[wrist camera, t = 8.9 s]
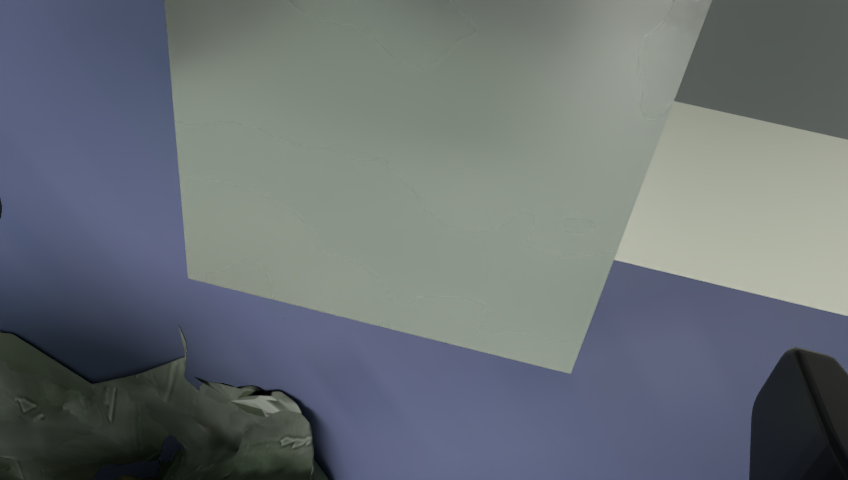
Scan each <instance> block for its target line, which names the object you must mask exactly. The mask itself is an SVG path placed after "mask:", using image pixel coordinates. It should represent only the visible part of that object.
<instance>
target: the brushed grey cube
mask: <svg viewBox="0 0 848 480" xmlns="http://www.w3.org/2000/svg"><path fill="white" fill-rule="evenodd" d="M711 2H712V0H164V3H165V14H166V26H167V38H168V49H169V61H170V73H171V84H172V96H173V108H174V119H175V131H176V143H177V154H178V166H179V178H180V189H181V201H182V213H183V225H184V236H185V248H186V260H187V271H188V278H189V279H193V280H197V281H201V282H205V283H209V284H213V285H217V286H221V287H225V288H229V289H233V290H237V291H241V292H245V293H249V294H253V295H257V296H261V297H265V298H269V299H273V300H277V301H281V302H285V303H289V304H293V305H297V306H301V307H305V308H309V309H313V310H317V311H321V312H325V313H329V314H333V315H337V316H341V317H345V318H349V319H353V320H357V321H361V322H365V323H369V324H373V325H377V326H381V327H385V328H389V329H393V330H397V331H401V332H405V333H409V334H413V335H417V336H421V337H425V338H429V339H433V340H437V341H441V342H445V343H449V344H453V345H457V346H461V347H465V348H469V349H473V350H477V351H481V352H485V353H489V354H493V355H497V356H501V357H505V358H509V359H513V360H517V361H521V362H525V363H529V364H533V365H537V366H541V367H545V368H549V369H553V370H557V371H561V372H565V373H569V374H571V372H572V369H573V367H574V364H575V361H576V359H577V356H578V353H579V351H580V348H581V345H582V343H583V340H584V337H585V335H586V332H587V329H588V327H589V324H590V322H591V319H592V316H593V314H594V311H595V308H596V306H597V303H598V300H599V298H600V295H601V292H602V290H603V287H604V285H605V282H606V279H607V277H608V274H609V271H610V269H611V266H612V263H613V261H614V258H615V255H616V253H617V250H618V248H619V245H620V242H621V240H622V237H623V234H624V232H625V229H626V226H627V224H628V221H629V218H630V216H631V213H632V210H633V208H634V205H635V203H636V200H637V197H638V195H639V192H640V189H641V187H642V184H643V181H644V179H645V176H646V173H647V171H648V168H649V166H650V163H651V160H652V158H653V155H654V152H655V150H656V147H657V144H658V142H659V139H660V136H661V134H662V131H663V128H664V126H665V123H666V121H667V118H668V115H669V113H670V110H671V107H672V105H673V102H674V99H675V97H676V94H677V91H678V89H679V86H680V84H681V81H682V78H683V76H684V73H685V70H686V68H687V65H688V62H689V60H690V57H691V54H692V52H693V49H694V46H695V44H696V41H697V39H698V36H699V33H700V31H701V28H702V25H703V23H704V20H705V17H706V15H707V12H708V9H709V7H710V4H711Z"/></svg>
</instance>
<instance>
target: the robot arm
mask: <svg viewBox="0 0 848 480" xmlns="http://www.w3.org/2000/svg"><path fill="white" fill-rule="evenodd" d="M1 213H2V204H1V199H0V218H1ZM749 480H848V373H847V372H846V371H845V370H844V369H843V368H842V366H841V365H840V364H839V363H838V362H837V361H836V360H835V359H834V358H833V357H831V356H829V355H826V354H822V353H818V352H814V351H810V350H806V349H802V348H791V349H789V350H787V351H786V352H785V353H784V354H783V356H782V357H781V359H780V360H779V362H778V363H777V365H776V366H775V368H774V370H773V371H772V373H771V374H770V376H769V378H768V379H767V381H766V382H765V384H764V385H763V387H762V389H761V390H760V392H759V393H758V395H757V397H756V400H755V402H754V406H753V410H752V418H751V444H750V472H749Z"/></svg>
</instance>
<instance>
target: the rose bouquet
mask: <svg viewBox="0 0 848 480" xmlns="http://www.w3.org/2000/svg"><path fill="white" fill-rule="evenodd" d="M283 319H284V318H283ZM179 329H180V327H179ZM180 333H181V338H182V343H183V348H184V353H185V357H183V358H180V359H178V360H175V361H172V362H170V363H167V364H164V365H162V366H159V367H156V368H154V369H151V370H148V371H146V372H143V373H140V374H137V375H132V376H128V377H123V378H119V379H114V380H110V381H105V382H101V383H96V384H91V383H89V382H88V381H86V380H84V379H83V378H81V377H80V376H78V375H77V374H75V373H73V372H72V371H70V370H69V369H67V368H66V367H64V366H62V365H61V364H59V363H58V362H56V361H54V360H53V359H51V358H50V357H48V356H47V355H45V354H43V353H42V352H40V351H39V350H37V349H36V348H34V347H32V346H31V345H29V344H28V343H26V342H24V341H23V340H21V339H20V338H18V337H17V336H15V335H13V334H10V333H2V332H0V480H93V479H94V477H95V475H96V473H97V471H98V470H100V468H102V467H103V466H106V465H110V464H116V465H117V464H131V463H136V462H142V461H154V460H159V458H160V455H161V454H160V453H161V452H163V451H162V450H161V449H162V445H163V442H164V439H165V438H167V437H168V436H169V435H173V436H174V437H175V438H176V439H177V440H178V442H179V443H180V444H181V445H183V446H184V449H185V450H179V451H177V452H176V453H174V455H173V460H171V461H167V462H165V461H159V464H160V468H159V471H158V473H157V474H156V475H155V476H154V477H148V478H138V477H136V476H130V475H121V477H117V478H116V479H115V480H329V479H328V478H327V476H326V475H325V473H324V472H323V470H322V469H321V468H320V467H319V465H318V464H317V463H316V461H315V460H314V445H313V437H312V429H311V426H310V423H309V422H308V420H307V419H306V418H305V417H304V416H303V415H302V411H301V409H300V407H299V406H298V405H297V404H296V403H295V402H294V401H293V400H291V399H290V398H289V397H288V396H286V395H285V394H283V393H282V392H280V391H269V392H264V391H263V390H262V389H260V388H258V387H255V386H244V387H234V386H231V385H227V384H224V383H211V382H207V381H205V380H202V379H199V378H197V379H198V380H200V381H201V382H203V384H202V386H200V390H197V389H196V388H195V387H194V385H192V384H190V383H189V382H188V381H187V380H186V379H185V377H184V373H185V368H186V341H185V339H184V336H183V334H182V332H181V329H180ZM195 378H196V377H195Z"/></svg>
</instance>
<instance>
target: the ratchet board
mask: <svg viewBox="0 0 848 480" xmlns="http://www.w3.org/2000/svg"><path fill="white" fill-rule="evenodd" d="M614 260H617V261H621V262H625V263H630V264H634V265H638V266H642V267H646V268H650V269H654V270H659V271H663V272H667V273H671V274H675V275H679V276H684V277H688V278H692V279H696V280H700V281H704V282H709V283H713V284H717V285H721V286H725V287H729V288H733V289H738V290H742V291H746V292H750V293H754V294H758V295H763V296H767V297H771V298H775V299H779V300H783V301H787V302H792V303H796V304H800V305H804V306H808V307H812V308H817V309H821V310H825V311H829V312H833V313H837V314H842V315H846V316H848V0H712V2H711V4H710V7H709V9H708V12H707V15H706V17H705V20H704V23H703V25H702V28H701V31H700V33H699V36H698V39H697V41H696V44H695V46H694V49H693V52H692V54H691V57H690V60H689V62H688V65H687V68H686V70H685V73H684V76H683V78H682V81H681V84H680V86H679V89H678V91H677V94H676V97H675V99H674V102H673V105H672V107H671V110H670V113H669V115H668V118H667V121H666V123H665V126H664V128H663V131H662V134H661V136H660V139H659V142H658V144H657V147H656V150H655V152H654V155H653V158H652V160H651V163H650V166H649V168H648V171H647V173H646V176H645V179H644V181H643V184H642V187H641V189H640V192H639V195H638V197H637V200H636V203H635V205H634V208H633V210H632V213H631V216H630V218H629V221H628V224H627V226H626V229H625V232H624V234H623V237H622V240H621V242H620V245H619V248H618V250H617V253H616V255H615V258H614Z"/></svg>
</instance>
